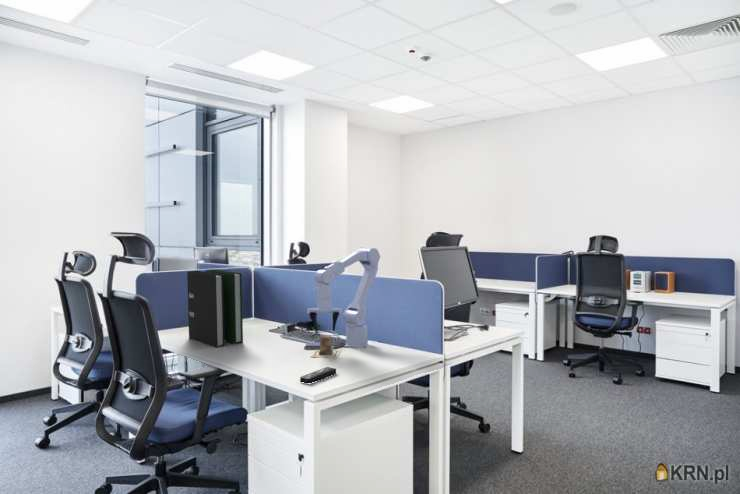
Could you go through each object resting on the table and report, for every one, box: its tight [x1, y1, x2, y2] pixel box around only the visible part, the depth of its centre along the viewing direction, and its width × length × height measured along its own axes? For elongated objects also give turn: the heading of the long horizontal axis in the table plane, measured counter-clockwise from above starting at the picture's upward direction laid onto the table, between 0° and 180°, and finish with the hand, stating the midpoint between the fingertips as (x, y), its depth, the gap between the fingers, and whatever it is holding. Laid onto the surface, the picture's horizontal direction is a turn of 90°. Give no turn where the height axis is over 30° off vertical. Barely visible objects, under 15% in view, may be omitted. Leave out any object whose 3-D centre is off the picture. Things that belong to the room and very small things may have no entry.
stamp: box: [319, 335, 334, 355], centre depth 207 cm, size 5×5×7 cm
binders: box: [186, 269, 244, 349], centre depth 232 cm, size 27×15×32 cm, turn 44°
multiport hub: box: [299, 366, 337, 384], centre depth 175 cm, size 4×14×2 cm, turn 145°
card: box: [310, 349, 342, 358], centre depth 207 cm, size 11×11×1 cm
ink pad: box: [303, 342, 320, 350], centre depth 218 cm, size 8×6×2 cm
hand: (324, 330), depth 211 cm, fingers open, 7 cm apart
